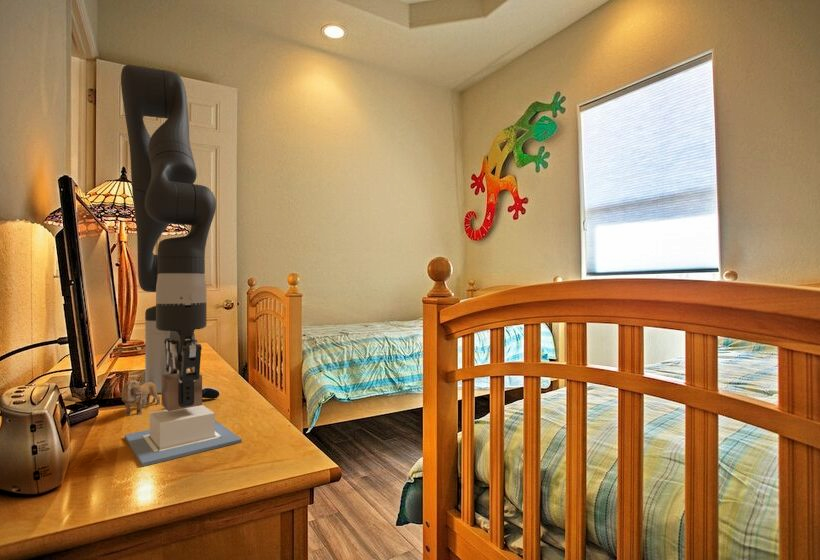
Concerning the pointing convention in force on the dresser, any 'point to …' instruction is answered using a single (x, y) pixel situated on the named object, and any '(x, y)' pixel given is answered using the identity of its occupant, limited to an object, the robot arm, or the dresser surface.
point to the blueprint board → (152, 454)
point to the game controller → (210, 392)
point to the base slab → (181, 426)
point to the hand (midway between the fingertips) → (182, 401)
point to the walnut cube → (172, 392)
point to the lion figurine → (138, 395)
